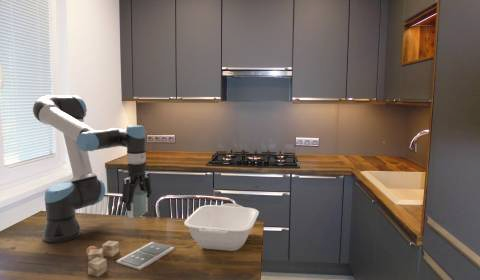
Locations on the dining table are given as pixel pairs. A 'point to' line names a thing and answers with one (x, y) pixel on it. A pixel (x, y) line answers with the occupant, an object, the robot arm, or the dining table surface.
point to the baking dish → (221, 226)
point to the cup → (139, 203)
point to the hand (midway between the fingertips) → (137, 214)
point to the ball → (90, 249)
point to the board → (145, 255)
